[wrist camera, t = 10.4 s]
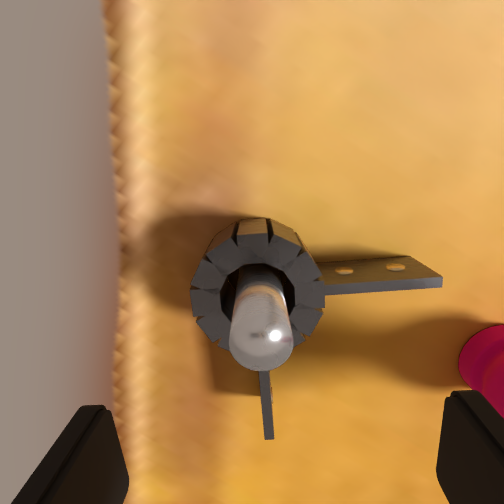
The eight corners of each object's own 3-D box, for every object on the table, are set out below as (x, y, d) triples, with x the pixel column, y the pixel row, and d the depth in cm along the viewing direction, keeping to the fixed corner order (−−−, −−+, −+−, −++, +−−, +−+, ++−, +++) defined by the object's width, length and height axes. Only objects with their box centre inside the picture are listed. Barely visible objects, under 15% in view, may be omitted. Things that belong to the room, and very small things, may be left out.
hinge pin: (237, 254, 24) (225, 316, 14) (277, 251, 24) (292, 311, 14) (241, 290, 25) (232, 372, 15) (279, 288, 25) (294, 369, 15)
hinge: (197, 222, 23) (182, 239, 19) (412, 206, 23) (454, 218, 18) (220, 399, 28) (212, 449, 23) (402, 388, 27) (433, 438, 22)
